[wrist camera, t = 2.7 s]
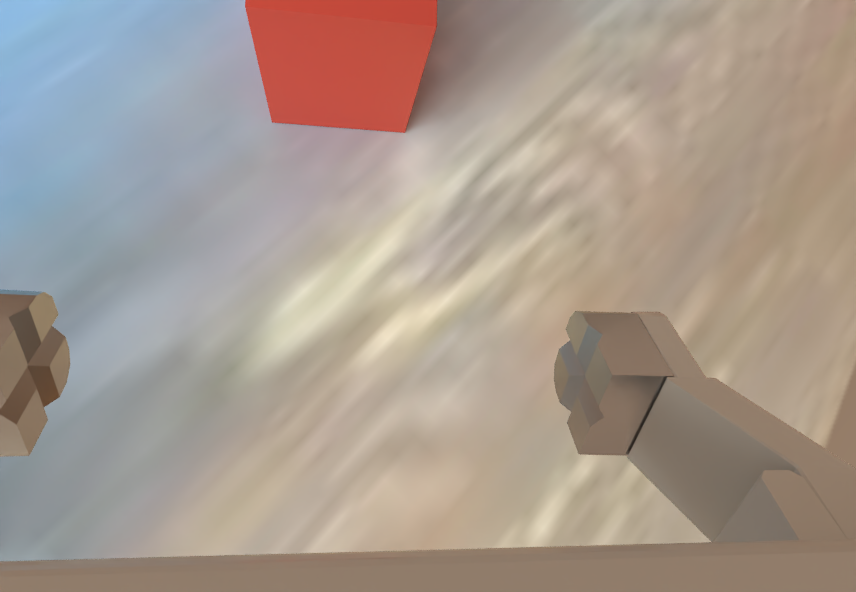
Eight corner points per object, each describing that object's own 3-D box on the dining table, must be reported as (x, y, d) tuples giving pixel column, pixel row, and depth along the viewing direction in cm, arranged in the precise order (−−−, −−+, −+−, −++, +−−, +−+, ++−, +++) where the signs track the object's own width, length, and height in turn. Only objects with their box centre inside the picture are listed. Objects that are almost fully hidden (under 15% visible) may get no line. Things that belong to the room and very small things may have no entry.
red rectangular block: (272, 122, 25) (245, 6, 17) (278, -2, 26) (255, -167, 18) (404, 132, 26) (436, 26, 18) (407, 12, 27) (439, -139, 19)
